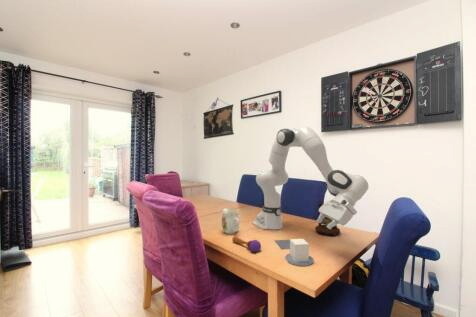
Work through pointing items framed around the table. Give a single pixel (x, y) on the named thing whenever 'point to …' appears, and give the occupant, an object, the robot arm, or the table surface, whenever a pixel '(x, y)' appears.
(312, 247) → the table surface
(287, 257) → the pot lid
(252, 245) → the kendama
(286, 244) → the mat
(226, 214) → the pitcher
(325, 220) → the wooden spool stand
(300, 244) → the cover
